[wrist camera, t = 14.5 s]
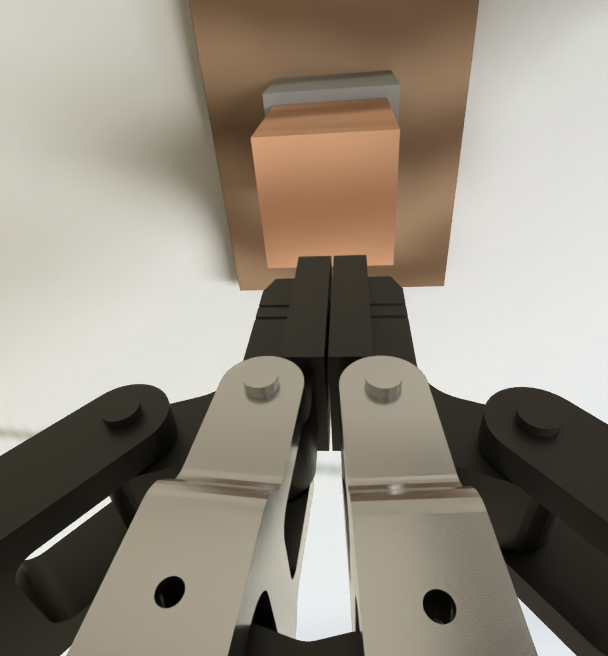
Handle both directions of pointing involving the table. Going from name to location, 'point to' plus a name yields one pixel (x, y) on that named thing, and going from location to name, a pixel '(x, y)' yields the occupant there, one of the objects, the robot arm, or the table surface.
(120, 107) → the table surface
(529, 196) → the table surface
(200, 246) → the table surface
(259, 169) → the terracotta block
